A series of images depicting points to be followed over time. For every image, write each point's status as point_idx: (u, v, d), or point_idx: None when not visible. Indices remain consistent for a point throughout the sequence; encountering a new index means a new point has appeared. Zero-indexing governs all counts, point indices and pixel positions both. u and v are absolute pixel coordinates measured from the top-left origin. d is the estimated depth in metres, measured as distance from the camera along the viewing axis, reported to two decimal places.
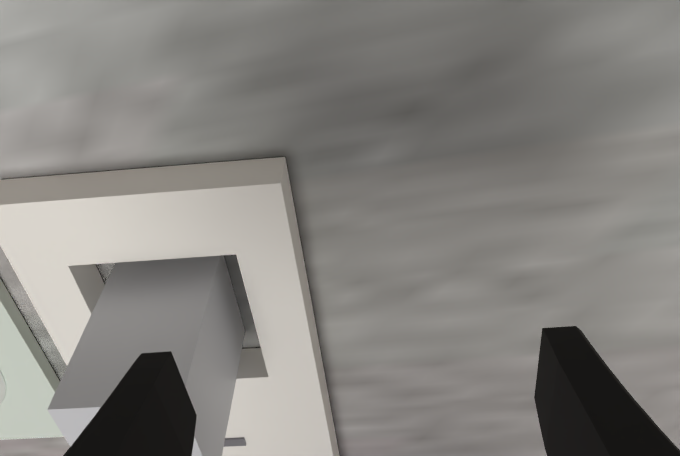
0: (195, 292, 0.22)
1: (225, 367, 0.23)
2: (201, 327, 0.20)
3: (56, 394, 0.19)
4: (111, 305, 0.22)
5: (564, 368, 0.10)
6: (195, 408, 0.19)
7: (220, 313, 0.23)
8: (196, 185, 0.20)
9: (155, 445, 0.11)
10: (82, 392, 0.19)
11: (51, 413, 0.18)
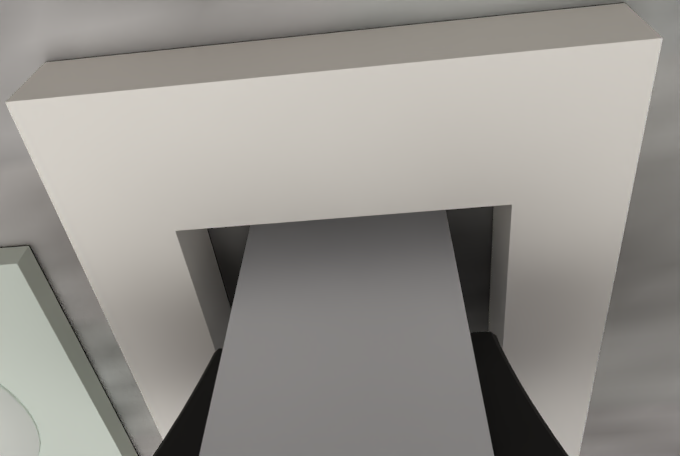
0: (429, 282, 0.11)
1: None
2: (473, 352, 0.10)
3: None
4: (264, 309, 0.11)
5: None
6: None
7: None
8: (467, 50, 0.10)
9: None
10: None
11: None
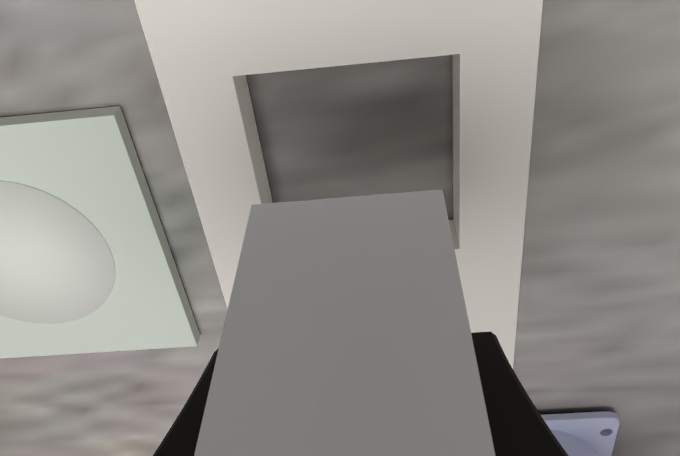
0: (427, 265, 0.11)
1: None
2: (470, 333, 0.10)
3: None
4: (264, 291, 0.11)
5: None
6: None
7: None
8: None
9: None
10: None
11: None
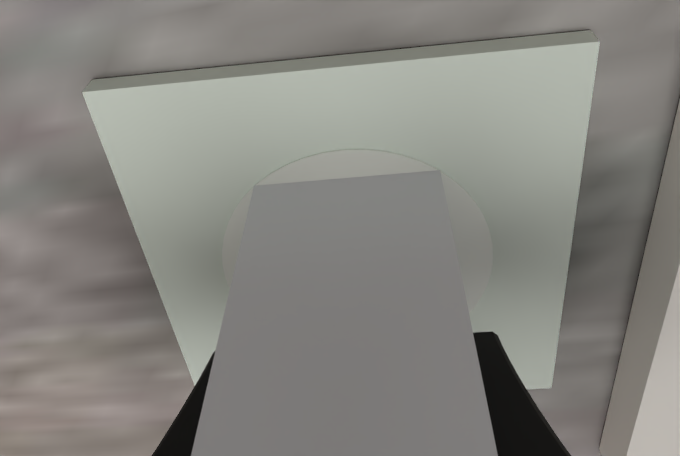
0: (425, 241, 0.11)
1: None
2: (466, 303, 0.10)
3: (196, 447, 0.09)
4: (266, 266, 0.11)
5: None
6: None
7: None
8: None
9: None
10: (257, 443, 0.08)
11: None
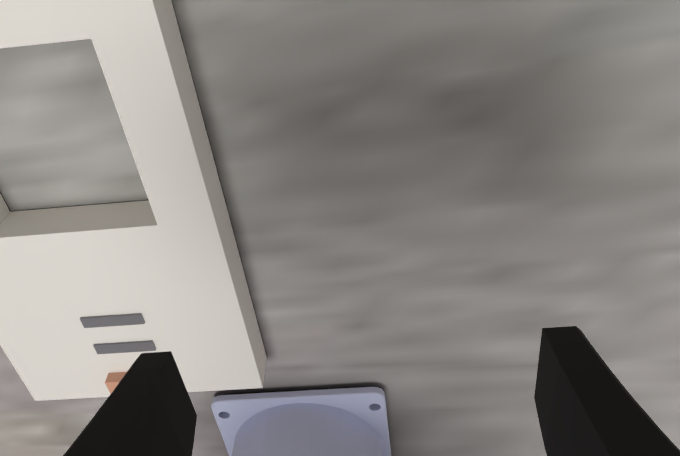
0: None
1: None
2: None
3: None
4: None
5: (564, 368, 0.10)
6: None
7: None
8: None
9: (155, 445, 0.11)
10: None
11: None
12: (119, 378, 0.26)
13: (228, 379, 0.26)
